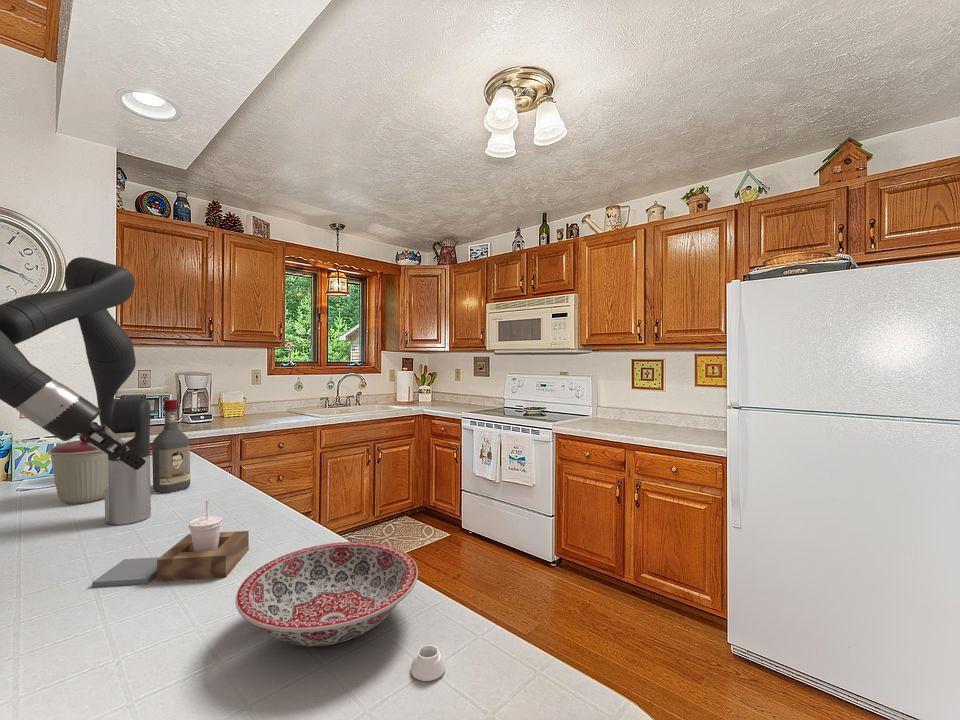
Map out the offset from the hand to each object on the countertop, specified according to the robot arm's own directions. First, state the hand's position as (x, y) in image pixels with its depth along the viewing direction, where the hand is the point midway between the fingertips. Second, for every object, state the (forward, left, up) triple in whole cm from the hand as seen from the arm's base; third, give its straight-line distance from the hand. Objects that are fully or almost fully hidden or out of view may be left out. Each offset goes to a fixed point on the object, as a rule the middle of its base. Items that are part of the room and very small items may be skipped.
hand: (138, 462), depth 91 cm
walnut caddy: (+9, +7, -24) cm, 27 cm away
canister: (-48, +60, -25) cm, 80 cm away
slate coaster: (-4, +5, -24) cm, 25 cm away
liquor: (-27, +67, -25) cm, 76 cm away
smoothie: (+9, +7, -25) cm, 27 cm away
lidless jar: (+56, -33, -25) cm, 70 cm away
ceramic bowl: (+40, -19, -25) cm, 51 cm away
